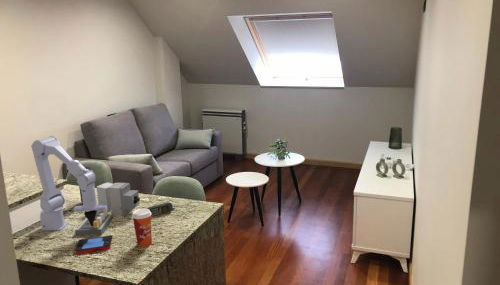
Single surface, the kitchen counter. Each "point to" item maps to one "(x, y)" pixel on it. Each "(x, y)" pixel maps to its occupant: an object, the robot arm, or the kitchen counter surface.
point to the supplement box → (104, 195)
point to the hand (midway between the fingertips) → (92, 225)
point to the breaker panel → (87, 229)
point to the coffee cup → (142, 226)
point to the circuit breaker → (122, 199)
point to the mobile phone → (161, 209)
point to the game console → (93, 244)
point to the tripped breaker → (96, 224)
